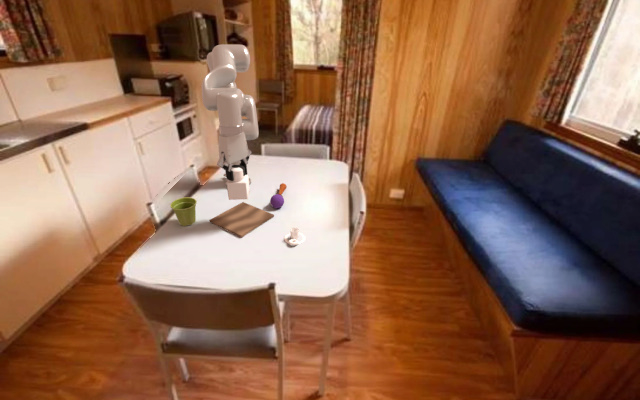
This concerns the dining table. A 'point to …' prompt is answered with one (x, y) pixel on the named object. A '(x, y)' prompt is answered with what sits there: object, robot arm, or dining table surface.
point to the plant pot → (185, 210)
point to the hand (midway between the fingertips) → (237, 176)
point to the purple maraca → (278, 197)
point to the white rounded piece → (294, 237)
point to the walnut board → (241, 219)
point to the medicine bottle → (238, 184)
